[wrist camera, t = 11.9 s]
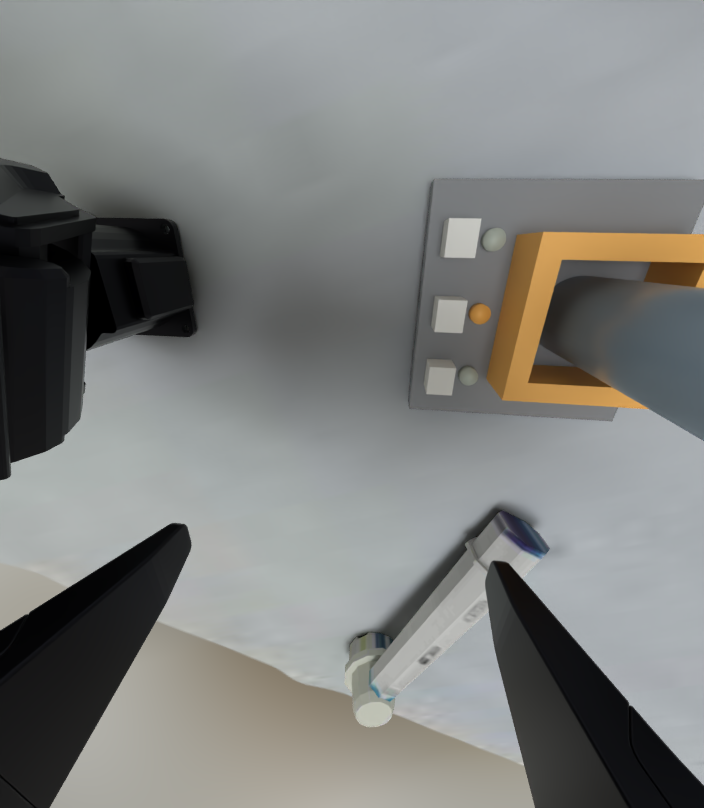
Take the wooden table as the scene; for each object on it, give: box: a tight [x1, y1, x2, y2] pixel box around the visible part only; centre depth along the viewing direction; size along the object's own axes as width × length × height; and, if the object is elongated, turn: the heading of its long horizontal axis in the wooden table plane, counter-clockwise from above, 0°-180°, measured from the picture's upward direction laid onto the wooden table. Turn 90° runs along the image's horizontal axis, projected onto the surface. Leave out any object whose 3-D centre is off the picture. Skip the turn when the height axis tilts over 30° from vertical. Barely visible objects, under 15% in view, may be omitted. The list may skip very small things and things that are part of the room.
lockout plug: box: [539, 275, 704, 441], centre depth 11 cm, size 4×4×13 cm
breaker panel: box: [408, 179, 704, 421], centre depth 16 cm, size 12×12×4 cm
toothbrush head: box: [345, 511, 550, 727], centre depth 28 cm, size 5×7×25 cm
